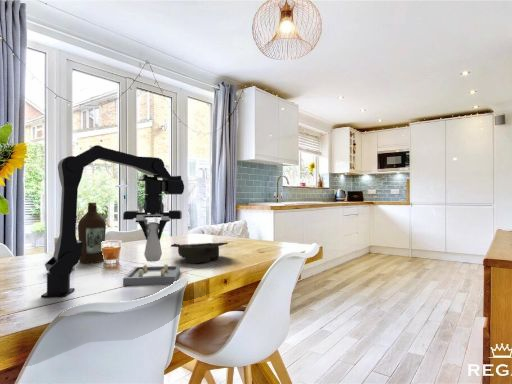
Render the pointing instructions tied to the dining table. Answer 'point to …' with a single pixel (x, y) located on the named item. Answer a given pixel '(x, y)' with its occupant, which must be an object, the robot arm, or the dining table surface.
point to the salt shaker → (153, 243)
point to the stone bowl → (199, 251)
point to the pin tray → (152, 275)
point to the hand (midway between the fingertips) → (153, 240)
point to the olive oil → (91, 235)
